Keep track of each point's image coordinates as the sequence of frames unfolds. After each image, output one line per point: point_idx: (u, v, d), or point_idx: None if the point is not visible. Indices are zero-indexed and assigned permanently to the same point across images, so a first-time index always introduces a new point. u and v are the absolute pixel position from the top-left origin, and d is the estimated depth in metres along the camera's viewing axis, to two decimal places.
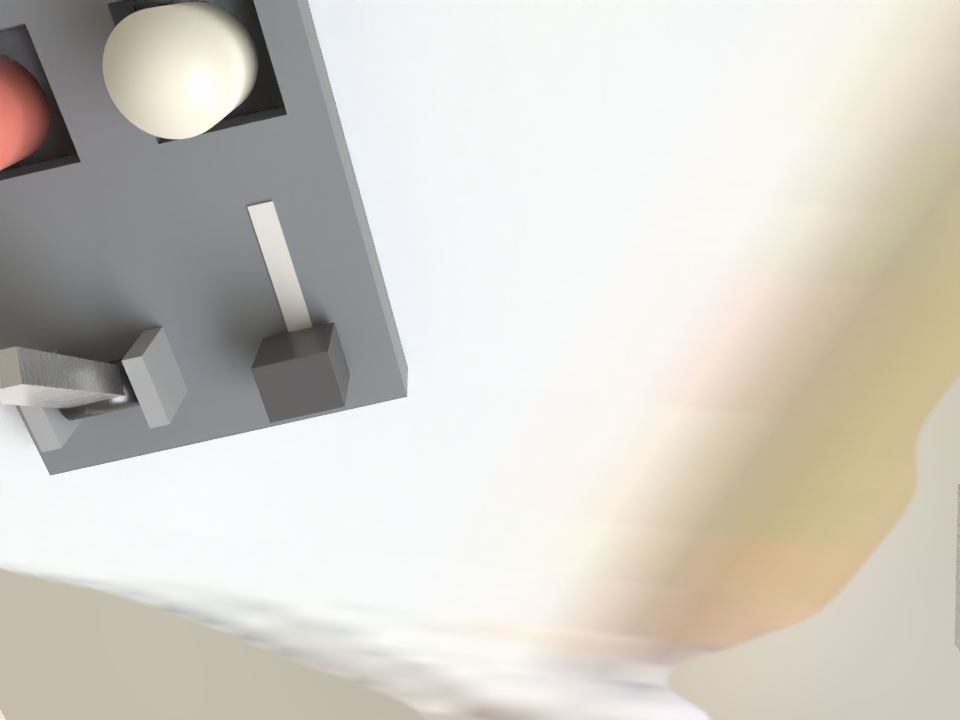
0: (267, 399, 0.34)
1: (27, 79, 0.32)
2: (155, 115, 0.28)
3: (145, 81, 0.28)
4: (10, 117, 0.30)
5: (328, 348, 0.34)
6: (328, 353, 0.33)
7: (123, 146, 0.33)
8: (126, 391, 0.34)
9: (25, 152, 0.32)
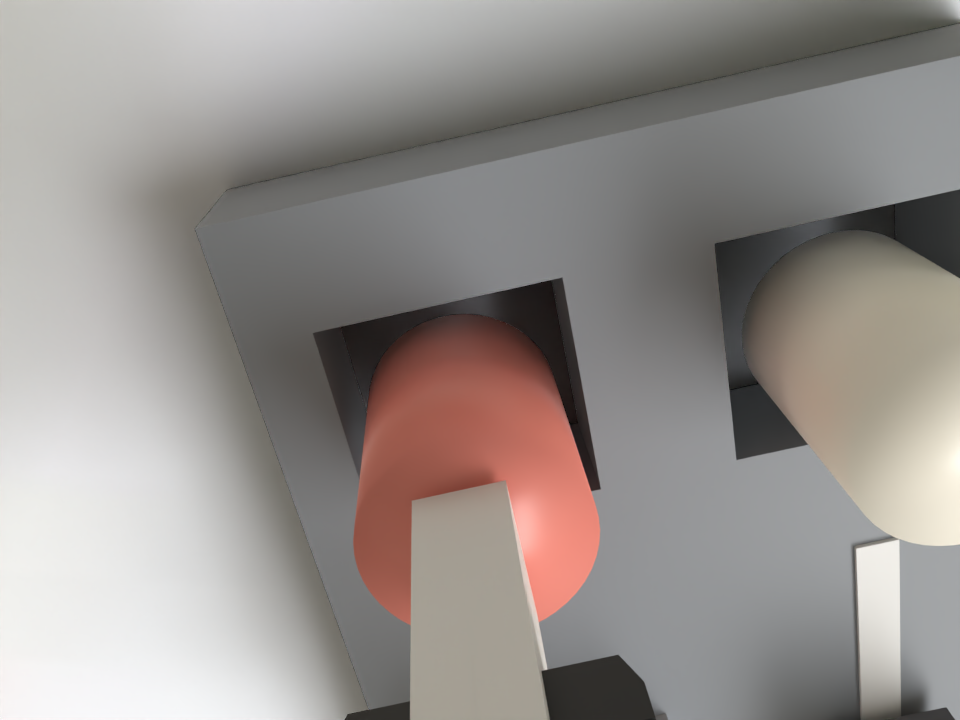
0: None
1: (547, 366, 0.18)
2: (921, 508, 0.14)
3: (925, 453, 0.14)
4: None
5: None
6: None
7: (678, 464, 0.19)
8: None
9: None
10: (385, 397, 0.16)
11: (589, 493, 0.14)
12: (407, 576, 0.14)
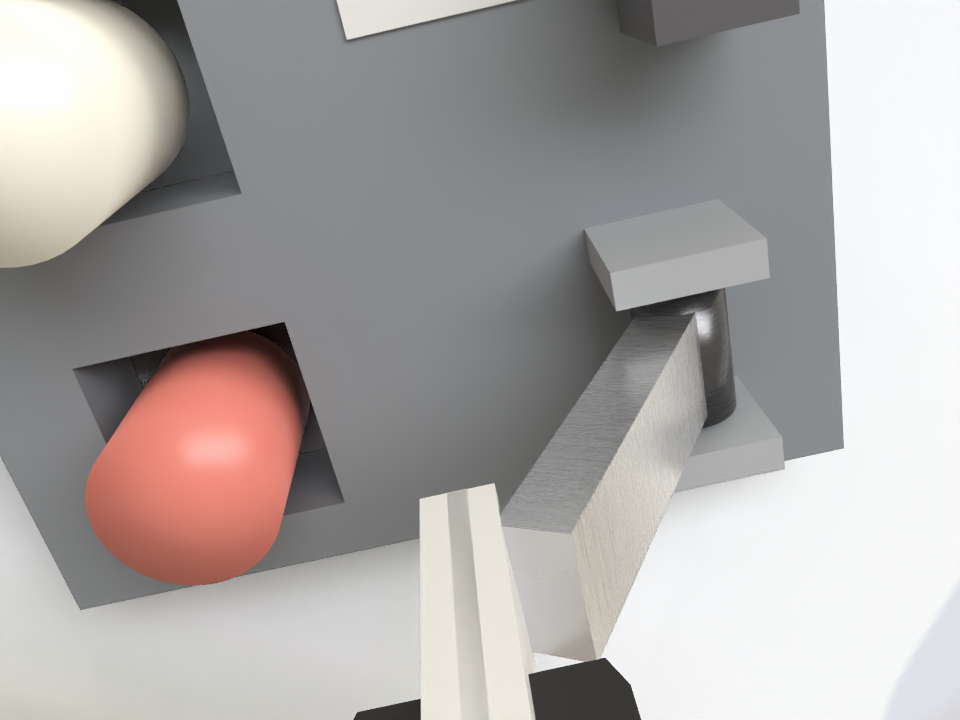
0: (738, 14, 0.14)
1: (174, 351, 0.22)
2: (67, 179, 0.14)
3: (0, 190, 0.14)
4: (183, 387, 0.19)
5: None
6: None
7: (251, 251, 0.19)
8: (687, 309, 0.18)
9: (269, 372, 0.21)
10: None
11: (127, 434, 0.18)
12: (222, 551, 0.19)
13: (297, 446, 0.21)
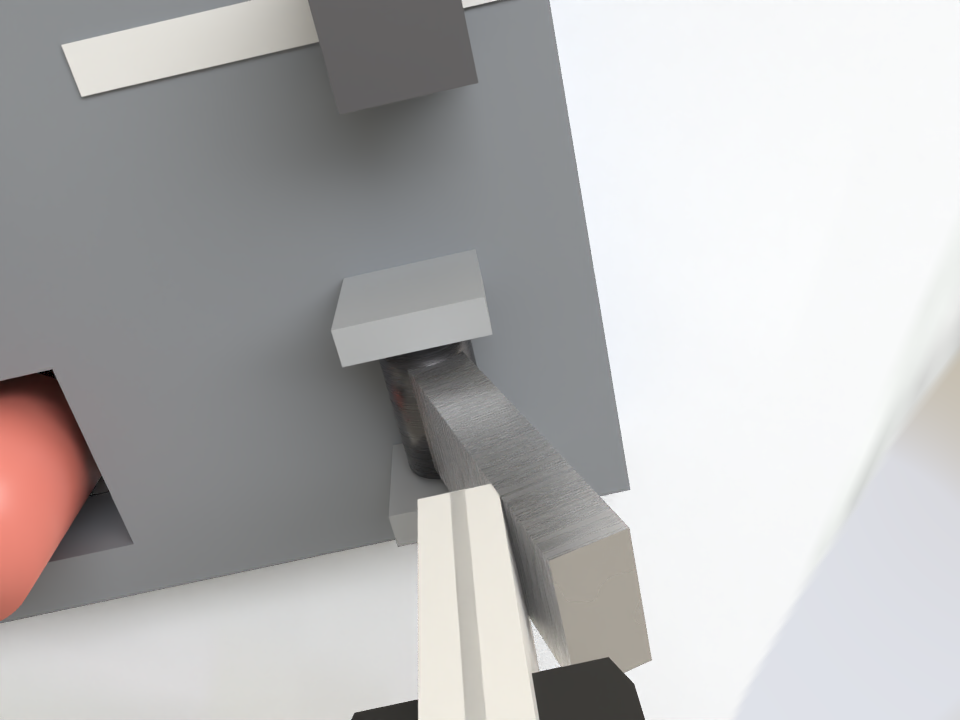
0: (417, 83, 0.15)
1: None
2: None
3: None
4: None
5: None
6: None
7: (11, 301, 0.19)
8: (456, 350, 0.18)
9: (49, 416, 0.21)
10: None
11: None
12: None
13: (76, 490, 0.21)
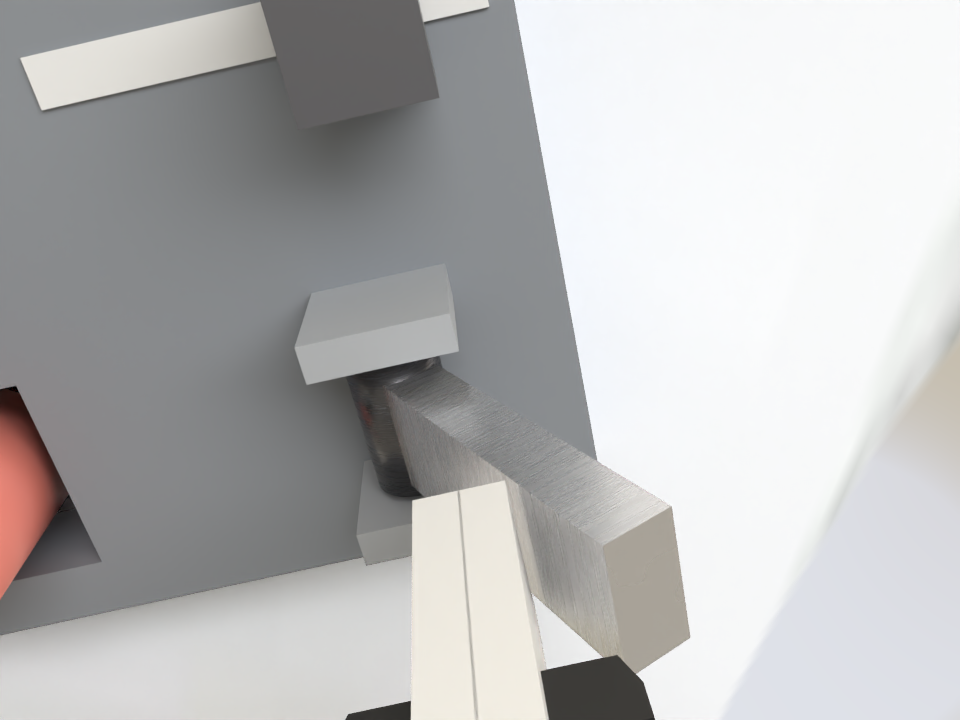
0: (377, 98, 0.14)
1: None
2: None
3: None
4: None
5: None
6: None
7: None
8: (430, 362, 0.18)
9: (14, 433, 0.21)
10: None
11: None
12: None
13: (41, 508, 0.21)
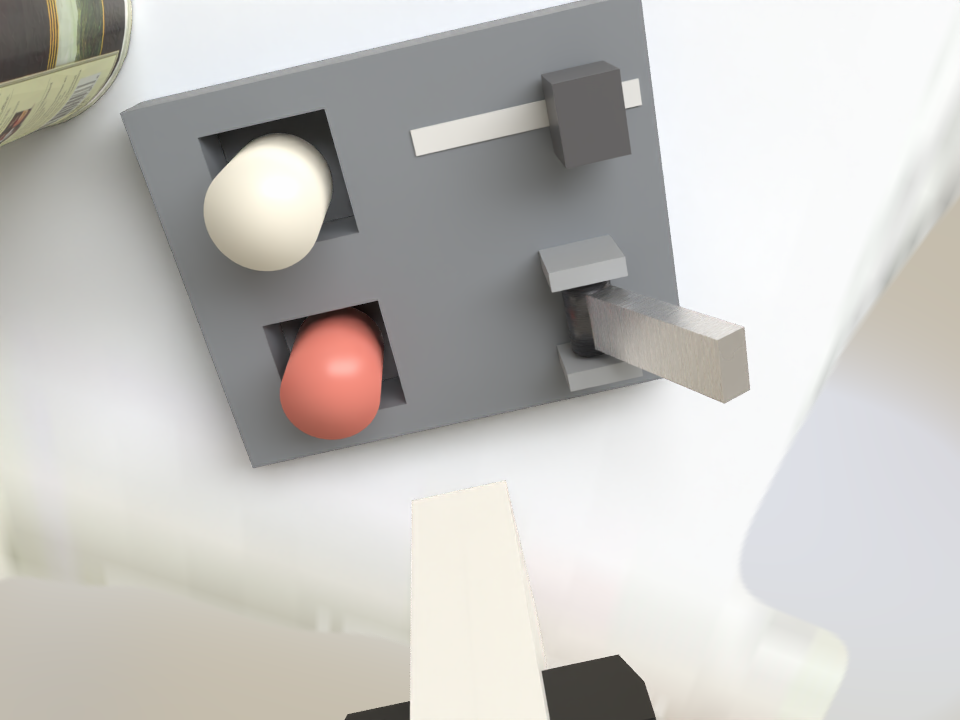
0: (603, 154, 0.32)
1: (311, 318, 0.39)
2: (299, 231, 0.31)
3: (269, 236, 0.31)
4: (326, 334, 0.36)
5: (551, 83, 0.31)
6: (554, 83, 0.31)
7: (362, 262, 0.36)
8: (608, 283, 0.35)
9: (366, 329, 0.38)
10: None
11: (304, 356, 0.35)
12: (348, 420, 0.36)
13: (382, 369, 0.38)
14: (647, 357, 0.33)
